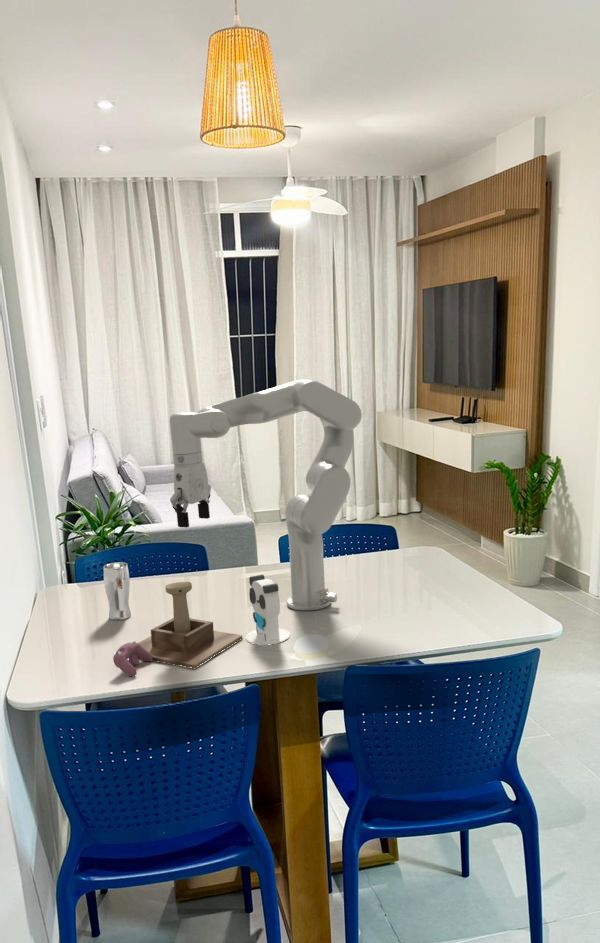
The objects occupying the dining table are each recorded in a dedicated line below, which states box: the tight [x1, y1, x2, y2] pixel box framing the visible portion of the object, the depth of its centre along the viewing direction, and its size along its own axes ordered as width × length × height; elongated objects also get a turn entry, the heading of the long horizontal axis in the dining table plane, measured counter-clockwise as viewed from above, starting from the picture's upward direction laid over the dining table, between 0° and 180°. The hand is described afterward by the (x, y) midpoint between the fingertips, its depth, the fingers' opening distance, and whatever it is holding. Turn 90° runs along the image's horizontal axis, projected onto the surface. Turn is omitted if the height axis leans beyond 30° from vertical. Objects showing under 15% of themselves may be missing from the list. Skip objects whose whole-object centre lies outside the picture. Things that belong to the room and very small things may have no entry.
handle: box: [165, 581, 193, 634], centre depth 189 cm, size 5×6×15 cm
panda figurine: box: [245, 574, 291, 646], centre depth 194 cm, size 12×11×15 cm
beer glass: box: [103, 561, 132, 621], centre depth 214 cm, size 7×7×15 cm
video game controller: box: [112, 640, 153, 677], centre depth 179 cm, size 10×5×7 cm, turn 165°
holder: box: [138, 617, 243, 669], centre depth 190 cm, size 22×20×6 cm
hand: (194, 522), depth 203 cm, fingers open, 9 cm apart
